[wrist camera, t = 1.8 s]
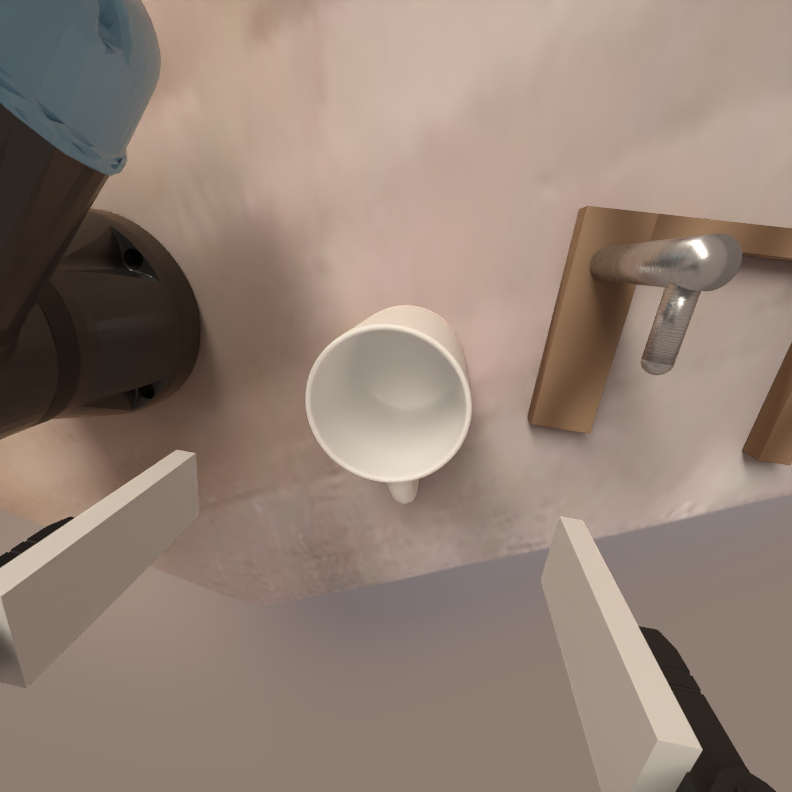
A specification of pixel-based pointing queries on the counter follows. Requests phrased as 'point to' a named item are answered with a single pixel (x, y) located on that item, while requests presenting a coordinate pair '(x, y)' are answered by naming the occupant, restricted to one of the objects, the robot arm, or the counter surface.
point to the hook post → (670, 283)
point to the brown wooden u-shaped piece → (605, 316)
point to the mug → (392, 398)
